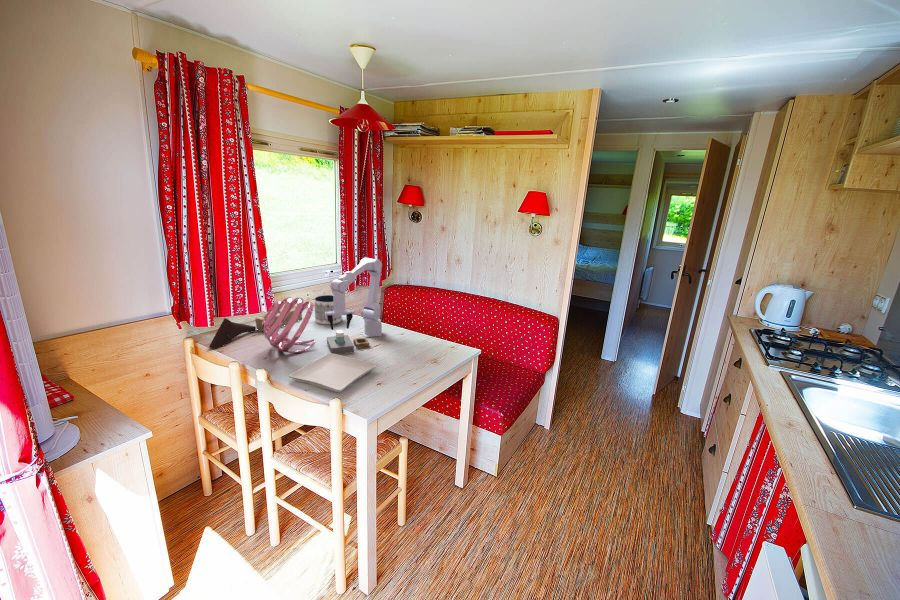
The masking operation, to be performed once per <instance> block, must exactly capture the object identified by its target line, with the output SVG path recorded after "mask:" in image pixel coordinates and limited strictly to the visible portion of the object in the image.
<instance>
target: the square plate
mask: <svg viewBox="0 0 900 600" xmlns="http://www.w3.org/2000/svg"><path fill="white" fill-rule="evenodd" d="M376 366H377V364H376V363H373V362H369V361H366V360H363V359H362V360H361V359H358V358H354V357H351V356H346V355H343V354H333V353H331V352H329V353H326V354H325V355H323V356H320V357H319V358H317V359H315V360H314V361H311V362H310V363H308V364H306V365H304V366H302V367H300V368H299V369H297V370H295V371H293V372H291V373H290V374H288V375H287V377H289V378H290V379H293V380H295V381H296V382H300V383H304V384H308V385H312V386H316V387H319V388H322V389H325V390H329V391H331V392H335V393H340V392H342V391H343V390H345V389H346V388H348V387H349V386H350V385H352V384H353V383H355V382H356V381H357V380H359V379H360V378H362V377H363V376H365V375H366V374H368V373H369V372H371V371H372V370H373V369H375V368H376Z"/></svg>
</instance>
